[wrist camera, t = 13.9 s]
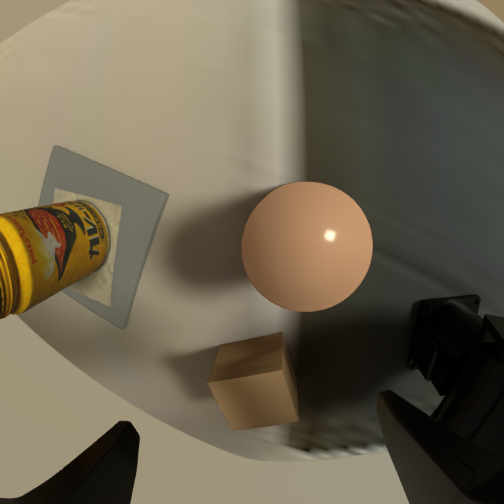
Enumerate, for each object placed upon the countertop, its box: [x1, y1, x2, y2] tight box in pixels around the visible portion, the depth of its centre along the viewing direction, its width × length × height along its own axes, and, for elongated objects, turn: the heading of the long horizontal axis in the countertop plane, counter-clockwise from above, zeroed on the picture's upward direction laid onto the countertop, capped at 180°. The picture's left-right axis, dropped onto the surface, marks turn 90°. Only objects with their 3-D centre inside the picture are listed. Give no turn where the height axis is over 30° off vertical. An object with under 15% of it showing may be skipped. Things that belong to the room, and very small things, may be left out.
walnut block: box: [207, 332, 299, 430], centre depth 20 cm, size 5×5×5 cm
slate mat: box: [38, 145, 169, 329], centre depth 21 cm, size 12×12×1 cm
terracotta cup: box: [241, 182, 373, 312], centre depth 16 cm, size 6×6×7 cm
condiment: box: [0, 188, 122, 319], centre depth 15 cm, size 7×8×12 cm
